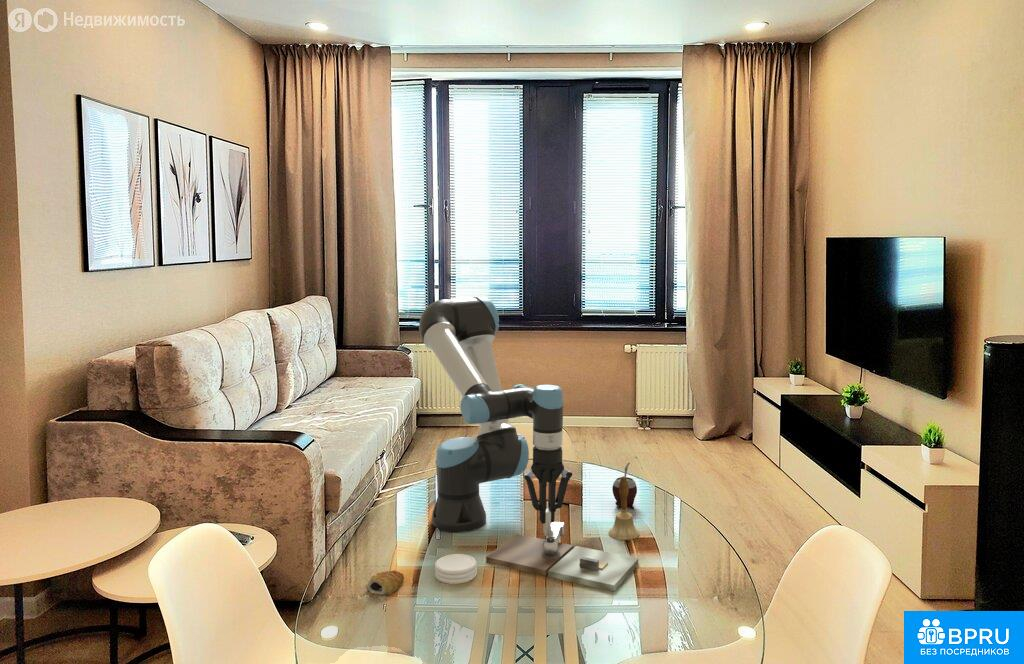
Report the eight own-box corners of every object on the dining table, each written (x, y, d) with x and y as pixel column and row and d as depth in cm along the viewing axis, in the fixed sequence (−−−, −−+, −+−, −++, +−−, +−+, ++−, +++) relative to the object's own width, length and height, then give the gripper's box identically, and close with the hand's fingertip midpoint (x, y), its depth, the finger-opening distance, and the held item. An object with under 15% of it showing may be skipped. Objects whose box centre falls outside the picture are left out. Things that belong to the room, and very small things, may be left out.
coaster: (439, 587, 190) (439, 573, 189) (431, 569, 199) (431, 556, 199) (481, 581, 193) (480, 567, 192) (471, 564, 202) (471, 550, 202)
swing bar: (556, 556, 200) (556, 542, 199) (542, 555, 201) (542, 541, 200) (564, 532, 214) (564, 519, 214) (551, 531, 215) (551, 518, 215)
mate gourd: (622, 500, 243) (622, 451, 241) (644, 506, 238) (644, 456, 236) (606, 506, 238) (606, 457, 236) (628, 513, 233) (629, 462, 230)
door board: (485, 562, 202) (485, 548, 202) (516, 539, 216) (516, 525, 216) (613, 591, 186) (613, 575, 185) (638, 564, 200) (638, 549, 199)
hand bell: (638, 541, 214) (639, 482, 211) (607, 539, 215) (607, 481, 213) (640, 528, 222) (640, 472, 219) (609, 527, 223) (609, 471, 221)
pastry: (388, 576, 196) (388, 561, 196) (411, 582, 193) (411, 567, 193) (363, 592, 188) (363, 577, 188) (387, 599, 185) (386, 583, 184)
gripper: (526, 452, 202) (526, 542, 206) (576, 448, 205) (575, 537, 209) (519, 443, 209) (519, 531, 213) (567, 440, 212) (566, 526, 216)
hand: (546, 534), depth 211 cm, fingers closed
